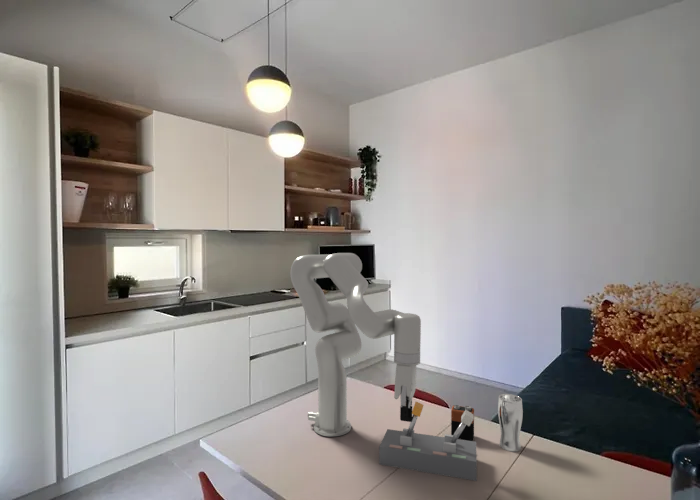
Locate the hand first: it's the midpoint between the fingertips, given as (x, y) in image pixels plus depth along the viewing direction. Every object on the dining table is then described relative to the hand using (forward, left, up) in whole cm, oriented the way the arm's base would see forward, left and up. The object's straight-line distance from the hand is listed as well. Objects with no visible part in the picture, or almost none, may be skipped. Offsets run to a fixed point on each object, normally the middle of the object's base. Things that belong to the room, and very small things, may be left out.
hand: (406, 419), depth 113 cm
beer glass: (+29, +16, -11) cm, 35 cm away
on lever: (+12, 0, -5) cm, 13 cm away
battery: (+15, +18, -11) cm, 26 cm away
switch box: (+6, 0, -11) cm, 13 cm away
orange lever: (0, 0, -5) cm, 5 cm away
